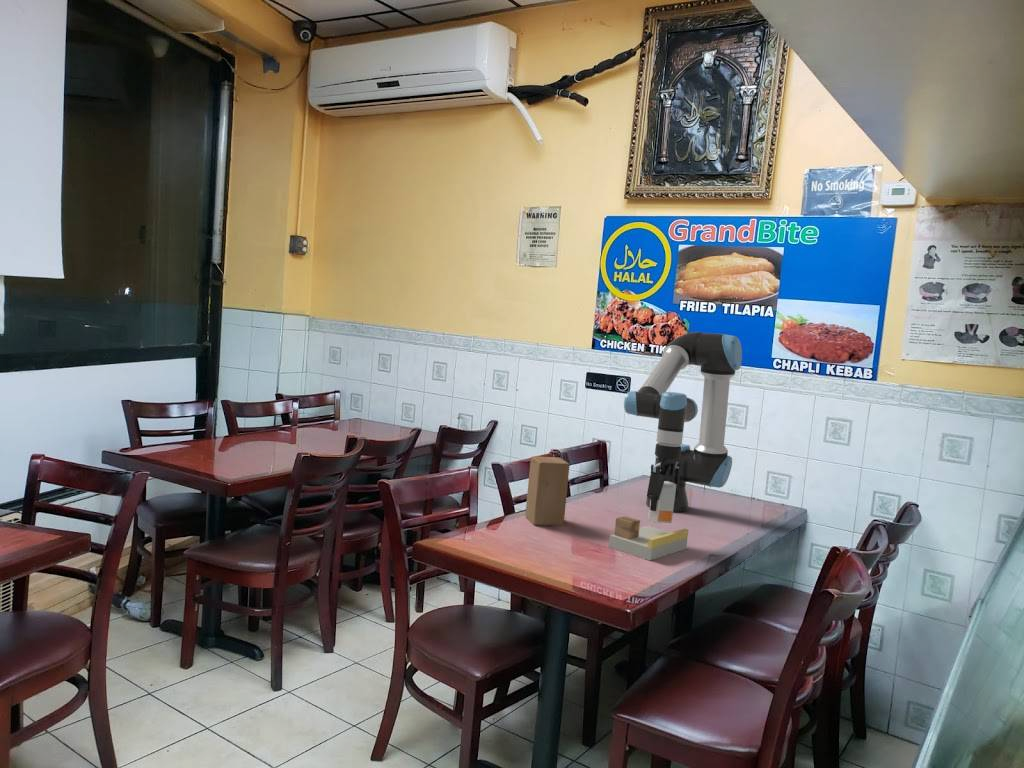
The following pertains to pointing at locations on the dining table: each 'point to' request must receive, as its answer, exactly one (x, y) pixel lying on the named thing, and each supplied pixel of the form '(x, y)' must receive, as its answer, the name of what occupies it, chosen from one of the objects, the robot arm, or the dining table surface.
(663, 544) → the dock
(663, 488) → the skincare box
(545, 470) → the wooden block
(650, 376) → the robot arm
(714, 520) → the dining table surface
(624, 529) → the tan wooden cube
